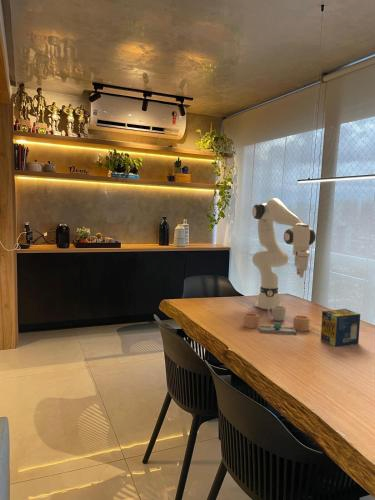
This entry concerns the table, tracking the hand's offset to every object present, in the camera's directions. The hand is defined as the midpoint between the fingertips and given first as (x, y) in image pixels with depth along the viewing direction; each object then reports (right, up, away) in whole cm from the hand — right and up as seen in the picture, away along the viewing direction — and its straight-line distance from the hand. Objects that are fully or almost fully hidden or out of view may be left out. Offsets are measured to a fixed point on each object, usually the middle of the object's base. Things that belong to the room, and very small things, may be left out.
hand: (299, 275), depth 213 cm
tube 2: (0, -30, -3) cm, 30 cm away
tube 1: (-28, -29, 0) cm, 40 cm away
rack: (-15, -30, -8) cm, 34 cm away
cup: (-10, -28, +14) cm, 33 cm away
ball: (-15, -27, -9) cm, 32 cm away
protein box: (+13, -32, -24) cm, 42 cm away
